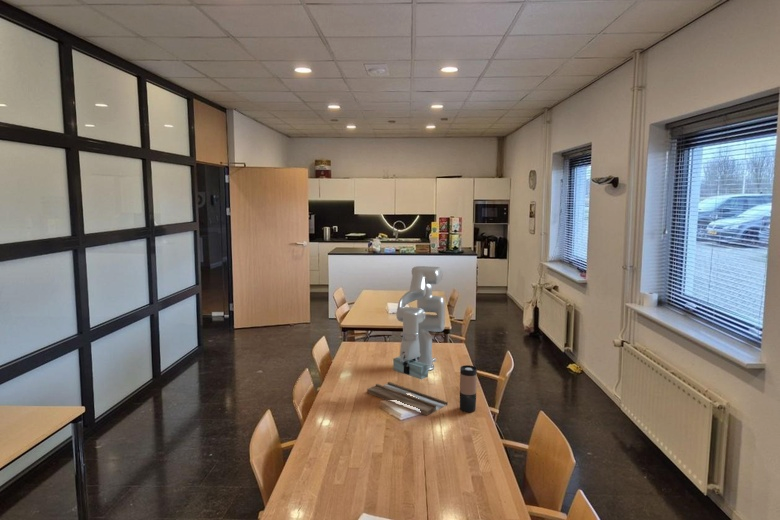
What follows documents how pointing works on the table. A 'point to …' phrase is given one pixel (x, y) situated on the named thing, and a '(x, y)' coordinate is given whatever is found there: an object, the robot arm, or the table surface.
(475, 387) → the travel mug
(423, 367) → the teal rectangular block
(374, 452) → the table surface
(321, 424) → the table surface
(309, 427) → the table surface
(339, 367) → the table surface
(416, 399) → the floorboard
